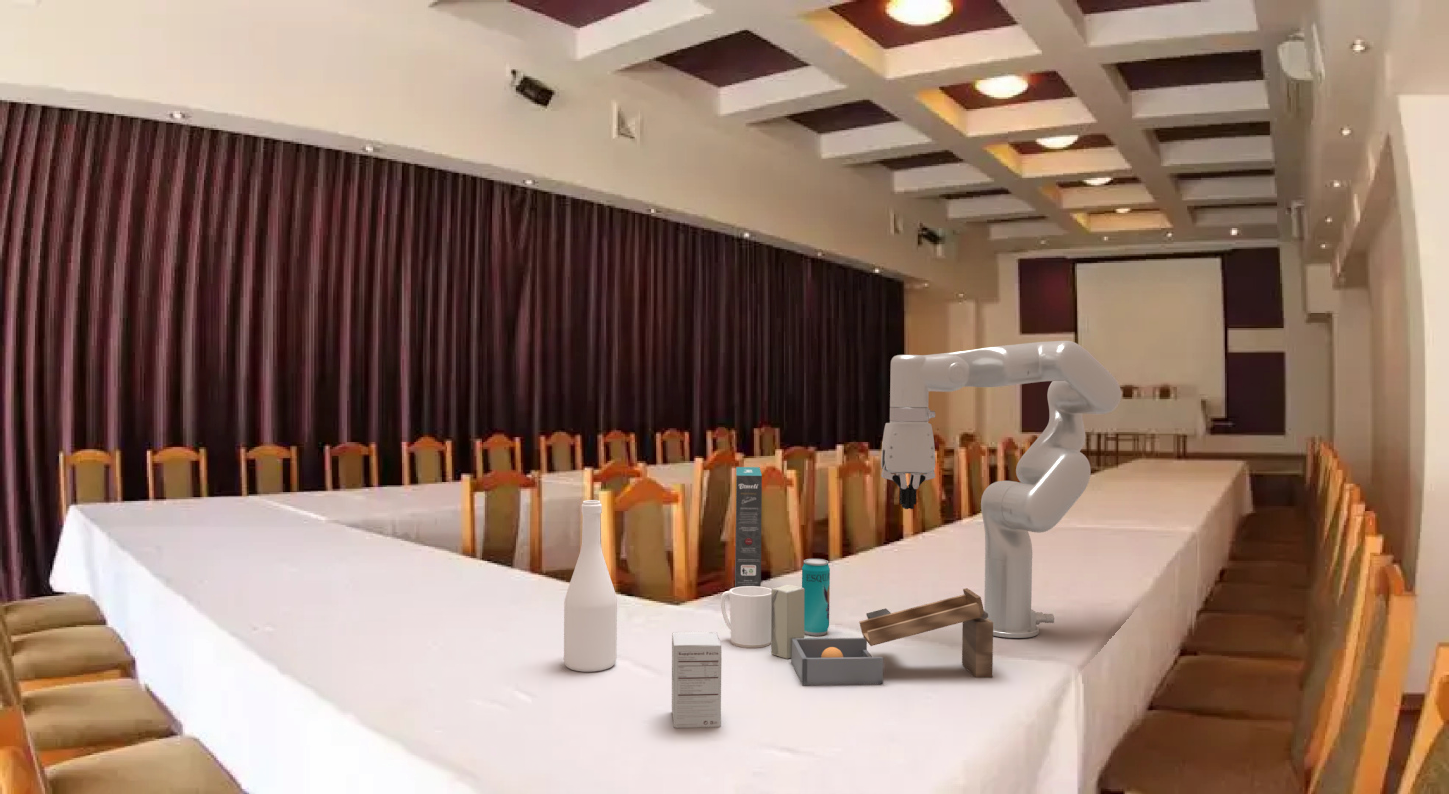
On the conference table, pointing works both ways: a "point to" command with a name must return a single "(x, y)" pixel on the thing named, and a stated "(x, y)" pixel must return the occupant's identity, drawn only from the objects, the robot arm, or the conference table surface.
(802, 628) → the box
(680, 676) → the supplement box
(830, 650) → the ball
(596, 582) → the wine bottle
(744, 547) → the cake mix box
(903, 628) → the lever
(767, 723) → the conference table surface
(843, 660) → the tray
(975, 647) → the post
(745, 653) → the conference table surface
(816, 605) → the beverage can
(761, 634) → the mug
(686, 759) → the conference table surface
